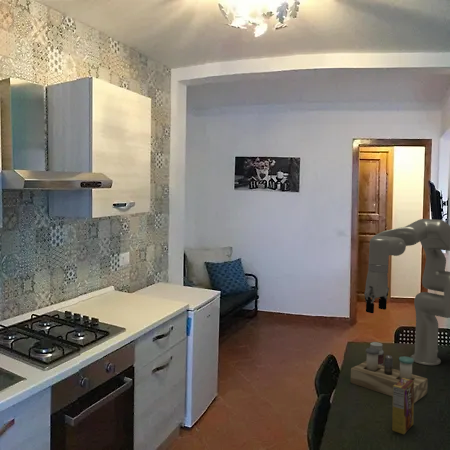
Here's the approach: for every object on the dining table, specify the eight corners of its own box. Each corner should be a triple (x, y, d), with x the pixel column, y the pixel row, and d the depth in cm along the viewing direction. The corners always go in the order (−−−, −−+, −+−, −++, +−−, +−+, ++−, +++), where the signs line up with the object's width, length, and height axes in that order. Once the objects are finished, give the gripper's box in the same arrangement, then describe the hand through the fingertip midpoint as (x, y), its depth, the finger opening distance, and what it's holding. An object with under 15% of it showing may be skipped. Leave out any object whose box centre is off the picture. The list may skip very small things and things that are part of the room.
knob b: (402, 375, 188) (402, 355, 187) (415, 379, 184) (415, 358, 184) (395, 378, 184) (396, 358, 184) (409, 382, 181) (409, 362, 180)
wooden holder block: (365, 374, 203) (365, 360, 203) (426, 393, 185) (427, 378, 184) (350, 382, 195) (351, 368, 194) (413, 403, 176) (414, 387, 176)
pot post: (386, 371, 191) (387, 354, 191) (393, 373, 189) (394, 356, 189) (382, 373, 189) (383, 356, 189) (390, 375, 187) (390, 358, 187)
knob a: (369, 365, 198) (369, 346, 197) (381, 369, 194) (381, 349, 194) (362, 368, 194) (363, 349, 194) (374, 372, 191) (375, 352, 190)
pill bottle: (386, 370, 209) (387, 344, 208) (376, 372, 205) (377, 347, 204) (374, 365, 214) (375, 340, 213) (365, 368, 210) (366, 343, 210)
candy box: (400, 420, 164) (402, 377, 162) (413, 424, 161) (415, 380, 160) (390, 430, 157) (392, 385, 156) (404, 435, 154) (405, 389, 153)
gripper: (380, 265, 200) (378, 306, 201) (358, 269, 189) (356, 312, 190) (397, 268, 195) (395, 309, 196) (375, 271, 183) (373, 316, 184)
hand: (376, 310), depth 193 cm, fingers open, 9 cm apart
